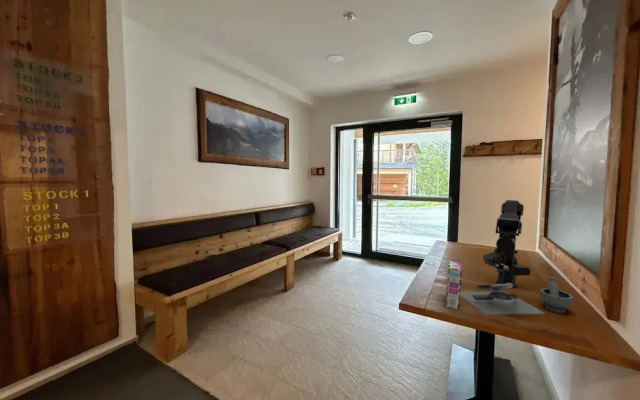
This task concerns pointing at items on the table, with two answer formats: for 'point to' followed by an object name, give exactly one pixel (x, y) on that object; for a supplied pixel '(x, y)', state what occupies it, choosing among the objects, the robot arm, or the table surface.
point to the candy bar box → (453, 284)
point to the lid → (496, 286)
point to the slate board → (490, 309)
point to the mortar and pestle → (555, 297)
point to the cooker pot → (498, 298)
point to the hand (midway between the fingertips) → (503, 284)
